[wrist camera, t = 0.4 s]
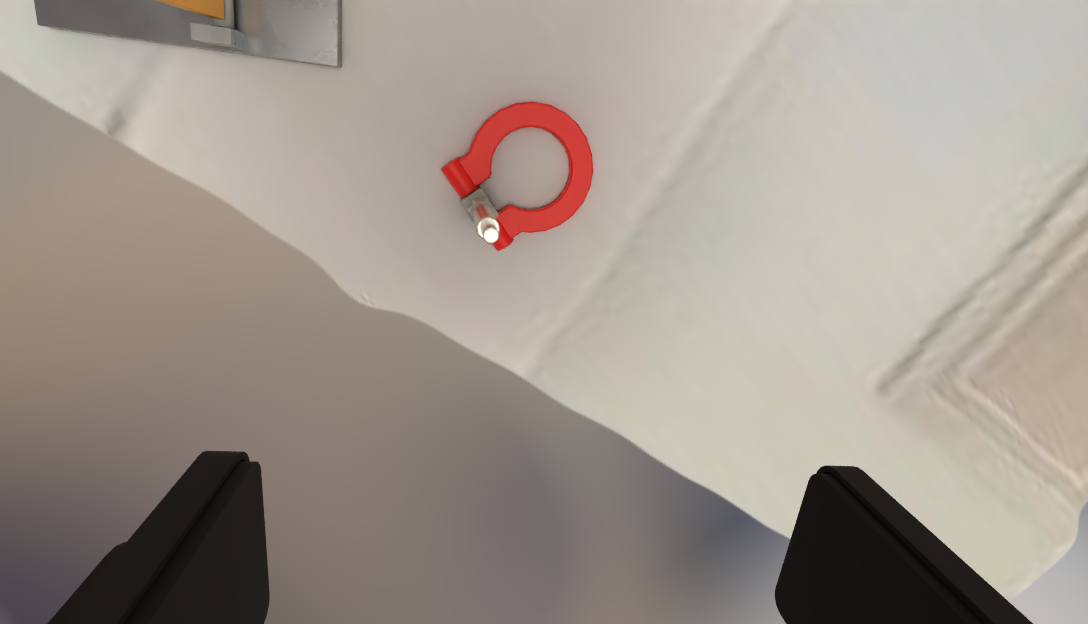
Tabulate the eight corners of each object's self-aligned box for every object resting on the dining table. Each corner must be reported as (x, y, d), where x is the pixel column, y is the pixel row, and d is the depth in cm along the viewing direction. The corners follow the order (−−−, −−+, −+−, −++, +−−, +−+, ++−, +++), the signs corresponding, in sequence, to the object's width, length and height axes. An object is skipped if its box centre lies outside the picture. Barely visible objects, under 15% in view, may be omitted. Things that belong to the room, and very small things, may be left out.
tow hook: (547, 77, 36) (431, 157, 36) (597, 45, 24) (421, 166, 24) (610, 186, 38) (502, 259, 39) (684, 208, 26) (526, 315, 27)
